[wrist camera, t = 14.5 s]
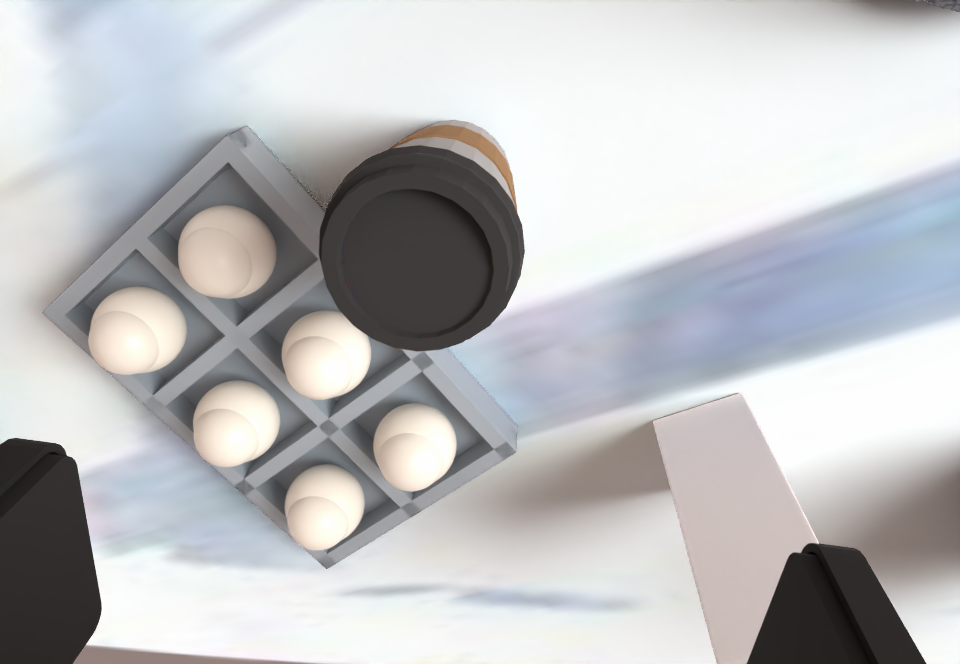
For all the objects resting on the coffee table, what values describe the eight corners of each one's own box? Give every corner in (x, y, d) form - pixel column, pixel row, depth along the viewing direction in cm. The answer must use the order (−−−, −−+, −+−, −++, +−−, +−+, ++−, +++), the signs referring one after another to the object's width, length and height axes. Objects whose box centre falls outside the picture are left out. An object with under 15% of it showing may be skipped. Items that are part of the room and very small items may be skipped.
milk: (741, 390, 45) (904, 697, 25) (766, 463, 48) (934, 799, 28) (649, 420, 47) (735, 734, 27) (677, 490, 49) (776, 827, 29)
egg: (298, 444, 48) (268, 500, 43) (373, 454, 48) (353, 512, 43) (298, 504, 51) (270, 565, 45) (370, 513, 51) (350, 576, 45)
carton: (71, 293, 46) (-4, 341, 40) (247, 125, 40) (193, 150, 34) (337, 539, 53) (310, 613, 47) (517, 426, 48) (514, 492, 41)
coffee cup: (379, 98, 39) (296, 154, 26) (531, 101, 39) (527, 160, 25) (386, 243, 43) (317, 359, 29) (525, 247, 42) (520, 367, 29)
